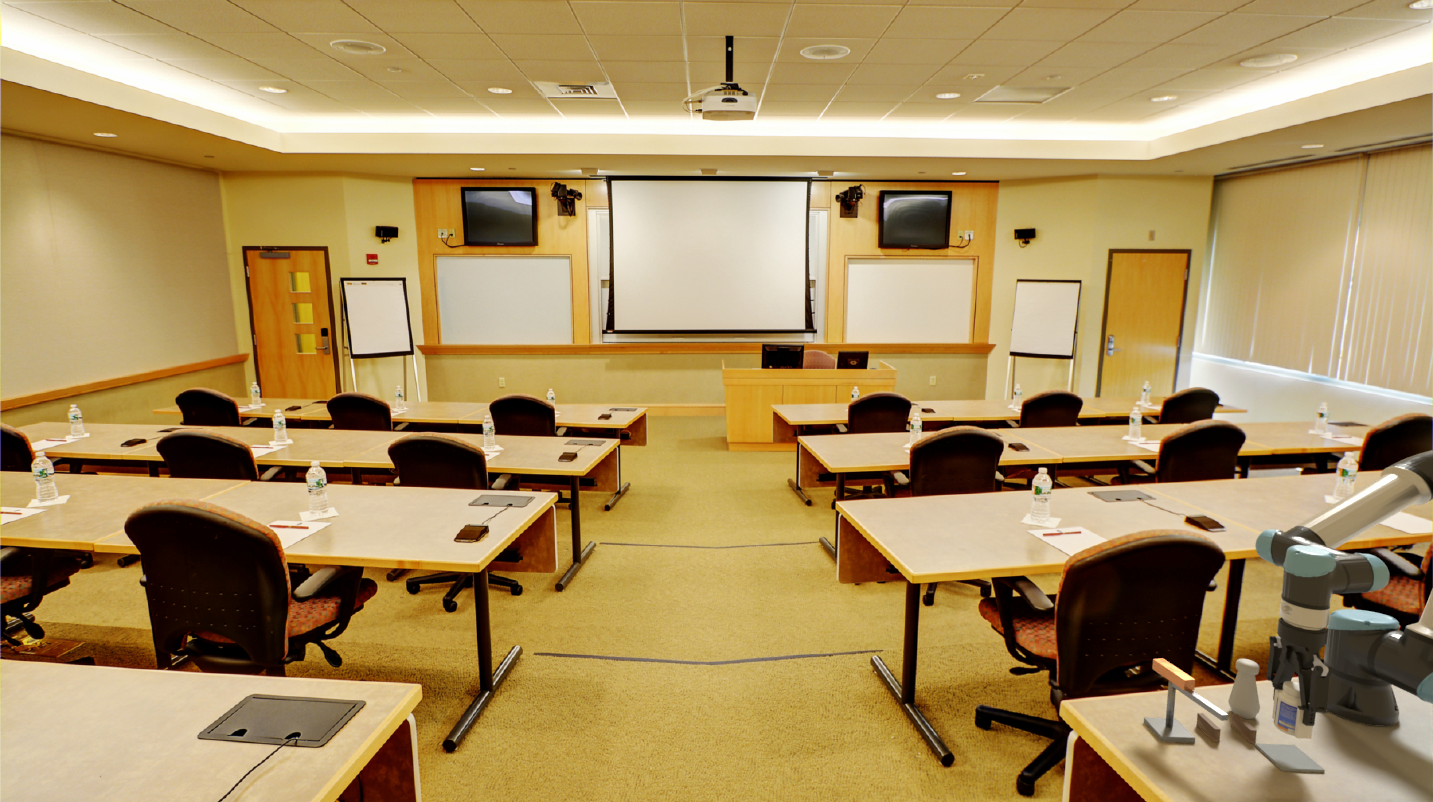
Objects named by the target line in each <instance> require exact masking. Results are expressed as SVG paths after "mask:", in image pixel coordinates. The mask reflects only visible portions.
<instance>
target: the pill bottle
mask: <svg viewBox="0 0 1433 802" xmlns="http://www.w3.org/2000/svg"><path fill="white" fill-rule="evenodd" d="M1308 704H1309V703H1308ZM1298 706H1301V697H1300V688H1299V682H1296V681H1292V680H1291V681H1285V682H1284V683H1283V690H1282V691H1279V692H1278V696H1277V703H1276V711H1275V718H1274V719H1273V725H1274V726H1275V728H1276V729H1277V730H1279V731H1280V732H1282V733H1284V734H1287V735H1289V736H1293V737H1295V736H1294V734H1295V725H1296V716H1297V707H1298Z"/></svg>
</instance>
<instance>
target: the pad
mask: <svg viewBox="0 0 1433 802" xmlns="http://www.w3.org/2000/svg"><path fill="white" fill-rule="evenodd" d="M1254 746H1255V748H1257V750H1258V751H1260V752H1261V753H1262V754H1263V755H1264V756H1266V758H1267V759H1268V760H1270V761H1271V762H1272V763H1273V764H1274V765H1275V766H1276V767H1277V768H1278V769H1280V771H1282V772H1294V773H1295V772H1296V773H1297V772H1301V773H1324V774H1325V772H1326V769H1325V768H1323V766H1322V765H1320V764H1319V763H1318V762H1316V761H1315V760H1313V758H1311V757H1310V756H1309V755H1308V754H1307V753H1306V752H1305V751H1303V750H1302V749H1301V748H1299V747H1298V746H1297V745H1296V744H1286V743H1285V744H1283V743H1282V744H1281V743H1280V744H1279V743H1254Z"/></svg>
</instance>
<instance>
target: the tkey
mask: <svg viewBox="0 0 1433 802" xmlns="http://www.w3.org/2000/svg"><path fill="white" fill-rule="evenodd" d="M1152 670H1153V671H1155V672H1156V673H1158V674H1159V675H1160V676H1162V677H1163V678H1164V679H1167V680H1168V684H1167V685H1168V688H1167V697H1166V698H1167V699H1166V712H1165V713H1166V714H1165V718H1166V723H1165V725H1166V727H1169V728H1173V720H1174V718H1175V717H1174V716H1175V704H1176V692H1177V691H1178V692H1179V693H1181V694H1183V695H1184V696H1185V697H1187V698H1188V699H1190V700H1191V701H1193V702H1194V703H1195V704H1197V706H1200V707H1201V708H1202V709H1204V710H1206V711H1207V712H1208V713H1210V714H1211V715H1213V716H1214V717H1215V718H1217V719H1218V720H1220V721H1221V722H1225V721H1228V720H1229V714H1228V713H1227V712H1225V711H1224V710H1223V709H1221V708H1220V707H1218V706H1217V705H1215V704H1213V703H1212V702H1210V701H1209V700H1208V699H1206V698H1204V696H1202V695H1200V694H1199V693H1197V692H1195V691H1194V690H1195V688H1196V687H1195V686H1196V679H1195V678H1194V677H1192V676H1191V675H1189V674H1188V673H1186V672H1184V671H1183V670H1182V669H1180V668H1179V667H1177V666H1176V665H1174V664H1173V663H1170V661H1167V659H1165V658H1163V657H1162V658H1153V659H1152Z"/></svg>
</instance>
